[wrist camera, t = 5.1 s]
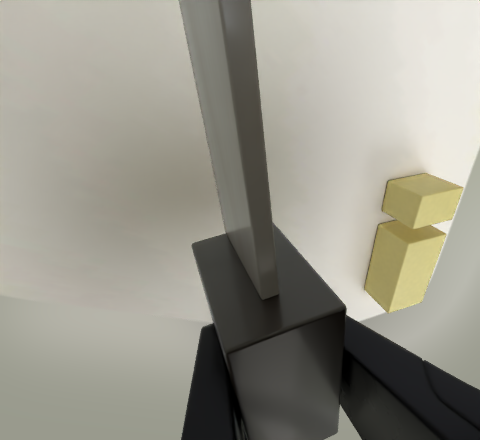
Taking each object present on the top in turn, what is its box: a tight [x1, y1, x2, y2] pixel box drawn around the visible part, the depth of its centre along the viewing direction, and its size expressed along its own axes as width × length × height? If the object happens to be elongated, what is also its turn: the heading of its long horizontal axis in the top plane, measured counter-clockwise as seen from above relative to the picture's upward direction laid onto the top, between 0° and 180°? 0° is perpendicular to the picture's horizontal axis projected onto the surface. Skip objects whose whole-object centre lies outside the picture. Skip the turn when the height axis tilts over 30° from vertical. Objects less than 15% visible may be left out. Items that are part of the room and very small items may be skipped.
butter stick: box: [365, 220, 446, 313], centre depth 23 cm, size 7×4×3 cm, turn 3°
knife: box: [179, 0, 347, 440], centre depth 6 cm, size 2×11×4 cm, turn 8°
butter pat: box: [382, 173, 463, 229], centre depth 20 cm, size 2×4×3 cm
